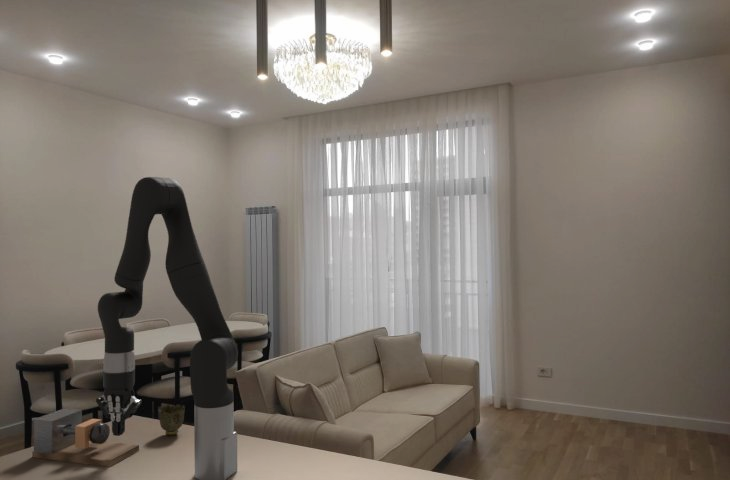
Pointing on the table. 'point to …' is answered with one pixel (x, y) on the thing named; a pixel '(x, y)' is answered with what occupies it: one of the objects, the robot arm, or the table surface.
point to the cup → (171, 418)
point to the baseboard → (92, 453)
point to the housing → (55, 430)
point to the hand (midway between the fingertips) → (118, 434)
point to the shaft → (93, 432)
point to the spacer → (84, 432)
